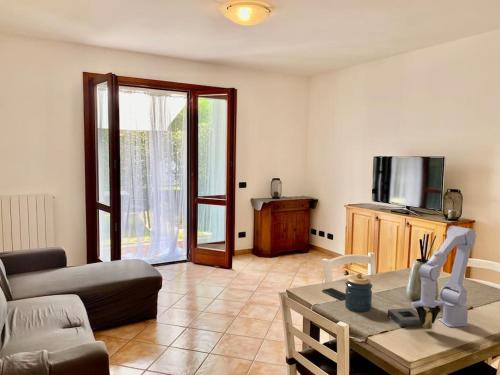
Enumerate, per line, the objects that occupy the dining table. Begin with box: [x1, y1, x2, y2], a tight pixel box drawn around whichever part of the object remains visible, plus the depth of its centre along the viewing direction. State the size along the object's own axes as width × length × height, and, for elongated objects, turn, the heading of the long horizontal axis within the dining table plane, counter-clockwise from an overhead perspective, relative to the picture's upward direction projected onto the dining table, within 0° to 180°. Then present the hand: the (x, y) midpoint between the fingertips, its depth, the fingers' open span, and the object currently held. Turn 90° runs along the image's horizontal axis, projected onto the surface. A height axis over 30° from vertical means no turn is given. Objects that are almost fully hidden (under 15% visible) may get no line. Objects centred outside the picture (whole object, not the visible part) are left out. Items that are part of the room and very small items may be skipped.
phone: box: [321, 287, 346, 301], centre depth 206 cm, size 8×1×15 cm
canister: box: [344, 272, 373, 313], centre depth 188 cm, size 13×13×18 cm
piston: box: [421, 308, 433, 330], centre depth 163 cm, size 4×4×7 cm
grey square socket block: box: [387, 307, 422, 328], centre depth 174 cm, size 12×12×3 cm
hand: (426, 322), depth 163 cm, fingers closed on piston, 4 cm apart
